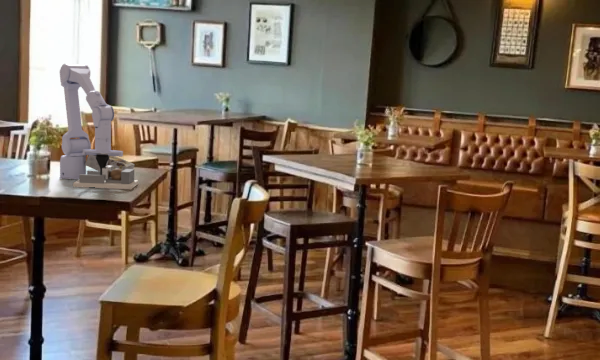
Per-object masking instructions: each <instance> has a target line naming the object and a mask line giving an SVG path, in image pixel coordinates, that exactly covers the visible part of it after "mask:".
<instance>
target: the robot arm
mask: <svg viewBox="0 0 600 360" xmlns="http://www.w3.org/2000/svg"><path fill="white" fill-rule="evenodd" d="M59 78H60V86H62V87H63V91H64V101H65V110H66V111H65V112H66V119H67V120H66V121H67V129H68V130H67V131H66V132H65V133H64V134H63V135H62V137H61V140H62V141H61V150H62V153H63V154H64V155H61V156H60V159H59V179H60V180H61V179H63V180H65V179H66V180H79V174H86V175H87V166H86V165H85V164H86V161H87V157H88V155H96V160H97V162H98V164H99V166H100V175H102V168H104V167H105V166H106V164H107V162H108V160H109V157H110V156H116V157H119V158H120V157H121V158H122V157H124V150H115V149H112V146H111V145H112V122H113V120H114V118H115V109H114V108H113V106H112V105H110V104H107V103H106V101H105V99H104V97H103V96H102V93H101V92H100V91H98V90H96V89H95V86H94V84H93V82H92V79H91V69H90V67H89V65H88V64H85V63H84V64H74V63H72V64H71V63H70V64H69V63H63V64H62V65H61V67H60V69H59ZM80 88H81V89H82V90H83V91H84V93H85V95H86V96H85V100H86V102H87V104H88V106H89V107H90V109H91V118H92V123H93V126H94V148H93V149H92V144H91V141H90V137H89V134H88V133H87V132H86V131H84V130H83V125H82V117H81V116H82V115H81V109H80V107H81V106H80V99H79V98H80V97H79V89H80ZM97 153H101V154H97Z"/></svg>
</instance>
